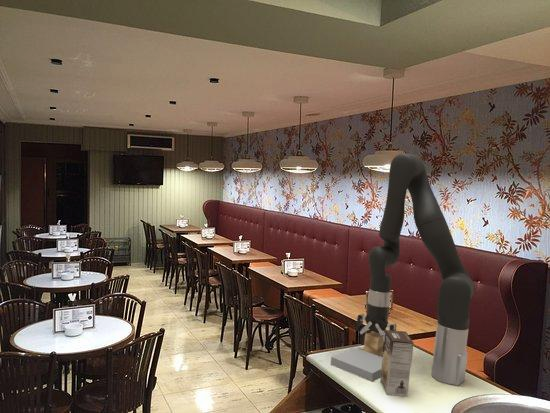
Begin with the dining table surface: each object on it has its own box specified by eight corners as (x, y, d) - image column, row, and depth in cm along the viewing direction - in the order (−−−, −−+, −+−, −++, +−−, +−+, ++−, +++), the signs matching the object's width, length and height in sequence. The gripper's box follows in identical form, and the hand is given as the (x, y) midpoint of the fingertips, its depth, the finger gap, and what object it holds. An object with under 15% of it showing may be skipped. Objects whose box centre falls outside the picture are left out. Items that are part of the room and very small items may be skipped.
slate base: (393, 369, 145) (393, 361, 145) (372, 381, 134) (372, 373, 134) (353, 354, 155) (353, 347, 155) (330, 364, 144) (331, 356, 144)
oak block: (382, 354, 157) (385, 335, 156) (376, 358, 153) (378, 338, 152) (370, 350, 160) (372, 331, 160) (363, 353, 156) (365, 334, 156)
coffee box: (379, 380, 136) (384, 329, 135) (400, 382, 136) (405, 331, 134) (386, 395, 126) (392, 340, 125) (408, 397, 126) (414, 342, 125)
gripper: (402, 306, 153) (397, 352, 155) (365, 296, 163) (361, 339, 164) (392, 310, 148) (387, 357, 149) (355, 299, 157) (350, 344, 158)
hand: (373, 348), depth 156 cm, fingers open, 8 cm apart
